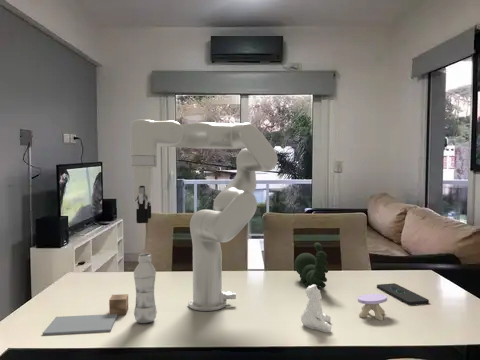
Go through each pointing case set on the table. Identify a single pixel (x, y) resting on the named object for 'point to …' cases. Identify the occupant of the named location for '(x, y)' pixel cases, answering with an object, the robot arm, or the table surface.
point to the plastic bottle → (145, 290)
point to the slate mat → (81, 324)
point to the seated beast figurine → (315, 311)
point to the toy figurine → (312, 267)
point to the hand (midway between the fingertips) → (144, 220)
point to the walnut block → (118, 304)
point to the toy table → (372, 304)
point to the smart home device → (402, 294)
